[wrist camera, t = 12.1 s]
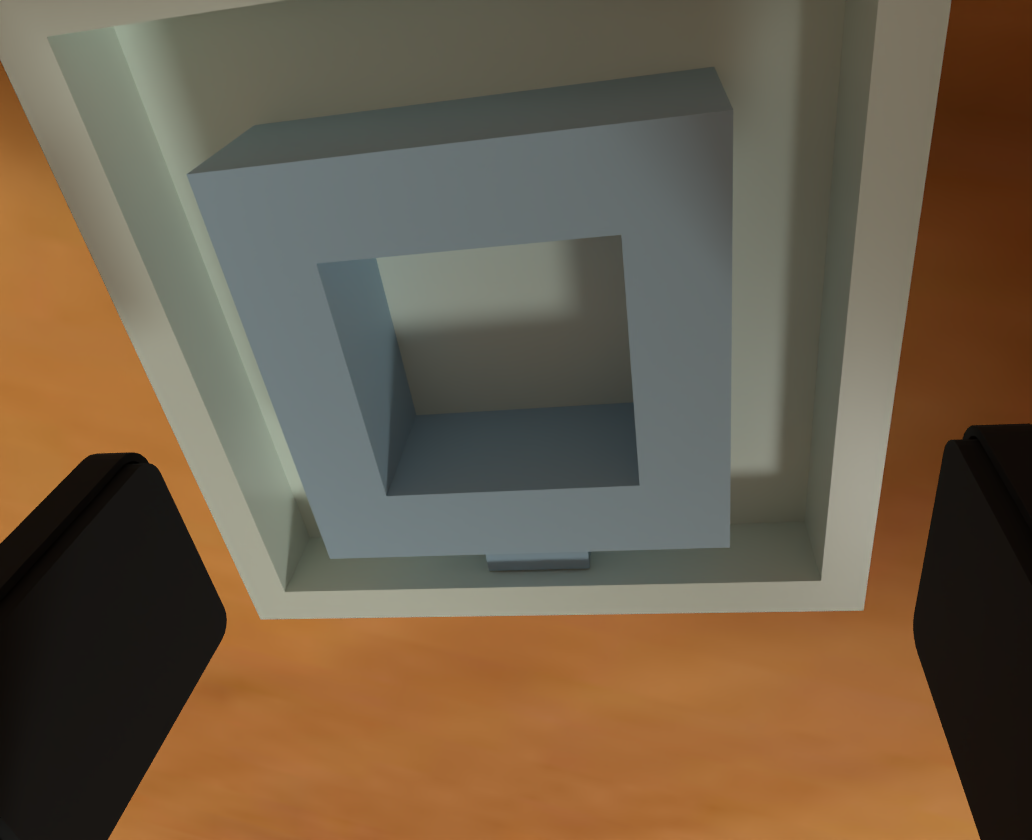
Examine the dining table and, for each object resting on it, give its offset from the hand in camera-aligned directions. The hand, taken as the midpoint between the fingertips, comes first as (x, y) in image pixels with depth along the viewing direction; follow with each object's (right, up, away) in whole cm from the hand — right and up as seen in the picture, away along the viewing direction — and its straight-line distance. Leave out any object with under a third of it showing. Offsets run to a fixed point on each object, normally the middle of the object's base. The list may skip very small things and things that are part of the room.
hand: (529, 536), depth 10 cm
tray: (0, +4, +5) cm, 6 cm away
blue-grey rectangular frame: (0, +3, +4) cm, 5 cm away
